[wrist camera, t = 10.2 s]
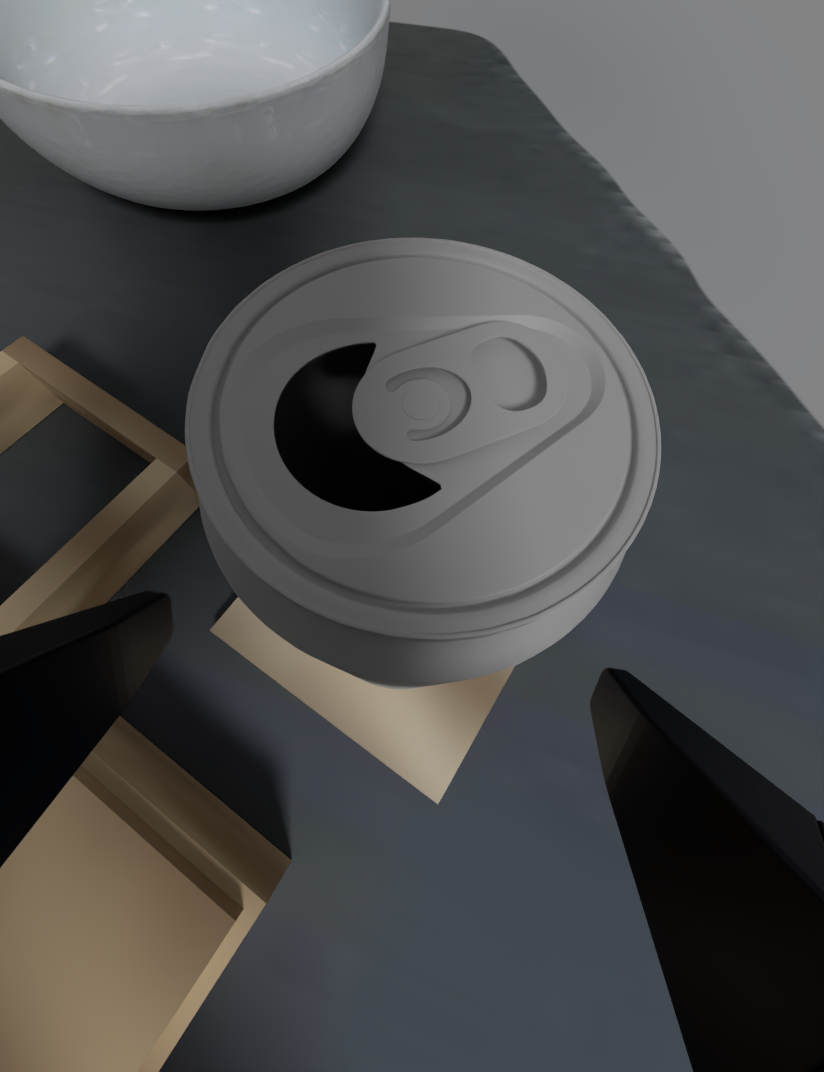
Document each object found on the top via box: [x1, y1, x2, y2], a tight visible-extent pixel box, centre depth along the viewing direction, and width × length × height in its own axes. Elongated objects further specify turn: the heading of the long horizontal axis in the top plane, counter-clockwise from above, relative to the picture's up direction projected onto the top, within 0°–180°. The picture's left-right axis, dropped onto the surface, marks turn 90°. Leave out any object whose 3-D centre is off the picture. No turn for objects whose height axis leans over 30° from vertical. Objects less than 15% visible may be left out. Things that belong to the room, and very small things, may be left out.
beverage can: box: [185, 238, 661, 689], centre depth 11 cm, size 6×6×12 cm
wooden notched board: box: [0, 336, 292, 1072], centre depth 13 cm, size 19×21×4 cm
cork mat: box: [210, 597, 515, 804], centre depth 17 cm, size 10×10×1 cm
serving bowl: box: [0, 0, 390, 211], centre depth 23 cm, size 21×21×7 cm
